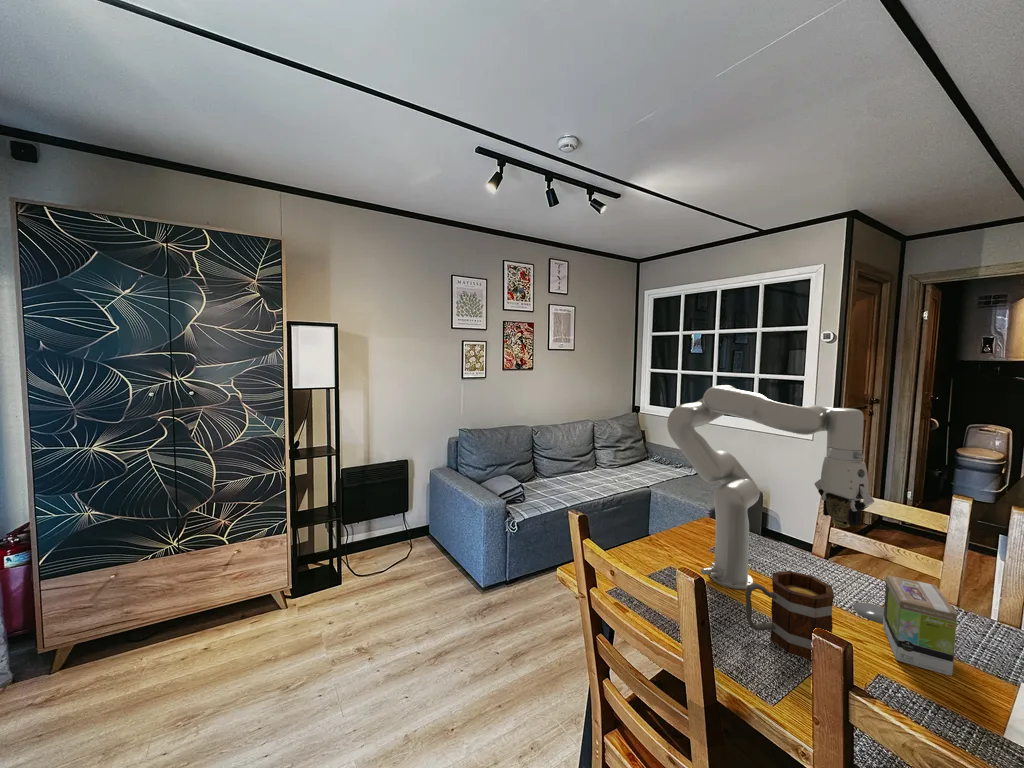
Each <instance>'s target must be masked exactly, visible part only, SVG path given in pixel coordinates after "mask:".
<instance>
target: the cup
mask: <svg viewBox="0 0 1024 768" xmlns="http://www.w3.org/2000/svg"><path fill="white" fill-rule="evenodd" d="M825 497H826V507H827V512H828V514H829V515H828V516H829V517H830V518H832V523H833V524H834V525H835V526H836V527H841V528H848V527H850V526H851V525H849V524H848V523H849V510H852V509H851V507H850V503H851V502H849V501H848V499H845V498H842V497H839V496H836V495H835V496H833V494H832V495H831V494H829V496H827V493H826V494H825ZM855 504H856V505H857V504H858V501H857V503H856V501H855Z"/></svg>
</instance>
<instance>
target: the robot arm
mask: <svg viewBox="0 0 1024 768" xmlns="http://www.w3.org/2000/svg"><path fill="white" fill-rule="evenodd" d="M724 415H727V416H732V417H736V418H741V419H744V420H748V421H752V422H755V423H757V424H761V425H764V426H766V427H769V428H772V429H776V430H781V431H783V432H789V433H792V434H797V435H803V436H808V435H813V434H815V433H818V432H826V433H827V434H826V435H827V436H826V453H825V455H826V456H824V459H823V462H822V467H821V471H820V472H821V473H820V479H818V480H817V481H815V482H814V487H815V488H816V489H817V492H818V494H819V495H820V497H821V501H823V504H822V505H823V506H822V507H823V509H822V511H823V512H822V515H824V516H826V517H827V516H829V514H828V512H827V507H826V497H825V494H826V493H827V496H829V494H831V495H832V494H833V496H835V495H836V496H839V497H842V498H845V499H848V501H849V502H851V503H850V507H851V509H852V510H849V523H848V524H849V525H850V526H851V527H853V526H854V527H855V526H861V524H862V511H865V510H866V509H867V508H869V507H870V506H871V505H873V504H874V503H875V499H874V498H873V497H872V496H871V494H870V493H869V476H868V471H867V469H868V468H867V465H866V462H864V461H863V460H865V459H866V454H864V453H863V443H864V442H863V437H864V421H865V420H864V412H862V411H861V410H860V409H857V408H850V407H848V408H847V407H827V406H822V405H818V404H817V405H816V404H810V405H806V406H799V405H798V406H797V405H793V404H787V403H784V402H783V403H782V402H778V401H774V400H772V399H769V398H767V396H765V395H763V394H761V393H759V392H752V391H747V390H742V389H737V388H736V387H734V386H732V385H729V384H724V385H723V384H721V385H714V386H711V387H709V388H707V389H706V391H705V392H704V394H703V396H702V398H701V399H698V400H697V401H695V402H687V403H681V404H679V405H677V406H676V407H674V408H673V409H672V410H671V411H670V413H669V414H668V417H667V423H666V424H667V425H666V426H667V431H668V433H669V436H670V438H671V439H672V441H673V442H674V444H675V445H676V446H677V447H678V448H679V450H680V451H681V453H682V454H683V455H684V456H685V458H686V460H688V463H690V465H691V466H692V468H693V469H694V470H695V471H696V473H697V475H698V476H699V477H700V478H701V479H702V480H703V481H705V482H706V483H709V484H714V483H717V482H719V483H721V485H720V486H718V487H717V489H716V490H715V492H714V495H713V505H714V513H715V534H714V535H715V536H714V537H715V540H714V547H715V548H714V562H711V566H709V567H702V568H701V569H700V572H701V574H702V575H703V576H705V575H708V576H709V575H710V576H709V578H710V577H711V578H712V579H713V580H712V579H711V578H710V579H711V580H712V581H714V582H715V583H716V584H718V585H720V586H723V587H726V588H730V589H734V590H747V587H748V585H751V584H754V579H753V577H752V576H751V575H750V574H749V551H750V550H749V548H750V547H749V544H750V522H749V517H748V516H749V515H748V509H749V508H751V507H752V506H754V505H755V504H756V503H757V502H758V500H759V498H760V489H759V487H758V485H757V484H756V482H755V481H754V480H753V478H752V477H751V476H750V474H749V473H748V472H747V470H746V468H744V467H743V465H741V463H740V462H739V460H738V459H737V458H736V457H735V456H733V454H731V453H730V452H729V451H725V450H723V449H722V450H719V449H717V450H714V448H712V446H711V445H710V444H709V443H708V442H707V440H706V438H704V437H703V436H702V435H701V434H700V433H699V432H698V431H696V429H695V428H697V427H702V426H705V425H708V424H710V423H711V422H713V421H715V420H717V419H718V418H720V417H722V416H724ZM855 501H856V503H857V501H858V504H857V505H856V504H855Z"/></svg>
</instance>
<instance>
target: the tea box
mask: <svg viewBox="0 0 1024 768" xmlns="http://www.w3.org/2000/svg"><path fill="white" fill-rule="evenodd" d="M885 579H886V580H885V591H884V603H883V604H884V606H883V607H884V618H883V625H882V627H883V630H884V633H885V635H886V637H887V639H888V640H887V641H888V643H889V646H890V648H891V650H892V653H893V656H894V658H895V660H896V661H898V662H902V663H904V664H908V665H911V666H915V667H918V668H921V669H925V670H929V671H931V672H932V671H933V672H936V673H939V674H943V675H947V676H951V677H952V676H953V673H954V672H953V671H954V660H955V659H954V658H955V649H956V648H955V645H956V644H955V643H956V635H957V625H958V624H957V622H958V613H957V612H956V611H955V608H953V606H952V605H951V604H950V602H949V601H948V600H947V598H946V597H945V595H944V594H943V593H942V591H941V590H940V589H939V588H938V586H937V585H936V584H931V583H926V582H923V581H917V580H911V579H908V578H903V577H900V576H899V577H897V576H893V575H889V574H887V575H886V578H885Z"/></svg>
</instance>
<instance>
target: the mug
mask: <svg viewBox="0 0 1024 768" xmlns="http://www.w3.org/2000/svg"><path fill="white" fill-rule="evenodd" d="M771 579H772V580H771V582H772V591H768V590H767V589H766V588H765V587H764V585H762V584H758V583H756V582H755V583H754V582H753V584H751V585H748V587H747V589H745V592H744V593H745V594H744V595H745V614H746V617H745V618H746V621H747V623H748V625H749V626H750V627H749V628H751V629H753V630H755V631H757V632H760V631H770V634H769V635H770V640H771V641H772V642H774V643H775V644H776V645H777V646H778V647H780V648H781V649H782V650H783V651H784V652H786V653H787V654H790V655H793V656H796V657H800V658H803V659H806V660H810V661H812V660H811V642H812V633H813V630H814V629H815V628H821V629H824V630H827V631H829V632H831V633H832V632H833V605H834V599H835V594H834V590H833V586H832V585H829V583H826V582H825V581H823V580H820V579H819V578H817V577H815V576H813V575H811V574H810V575H809V574H804V573H800V572H796V571H791V570H785V571H778V572H777V571H776V572H772V578H771ZM755 590H760V591H761V592H762V593H763V594H764V595H765V596H767V597H768V598H770V599H771V608H770V611H771V622H765V623H758V624H756V623H754V622H753V619H752V618H753V616H752V615H753V613H752V612H753V611H752V610H753V604H752V600H751V597H752V593H753V591H755Z"/></svg>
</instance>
